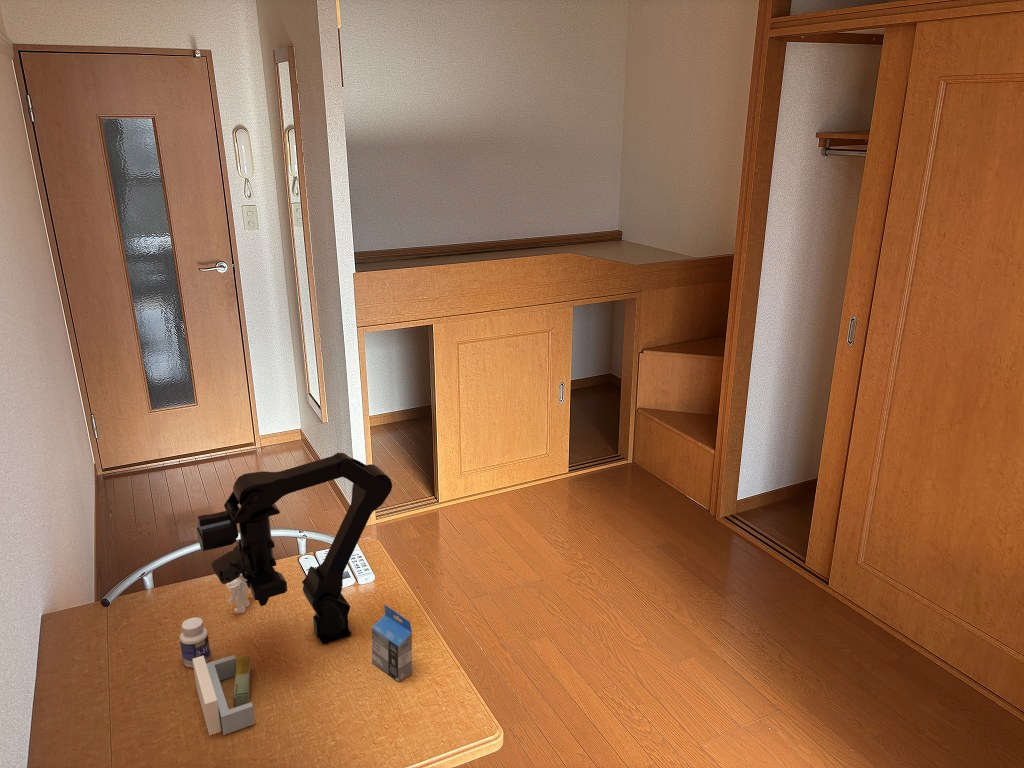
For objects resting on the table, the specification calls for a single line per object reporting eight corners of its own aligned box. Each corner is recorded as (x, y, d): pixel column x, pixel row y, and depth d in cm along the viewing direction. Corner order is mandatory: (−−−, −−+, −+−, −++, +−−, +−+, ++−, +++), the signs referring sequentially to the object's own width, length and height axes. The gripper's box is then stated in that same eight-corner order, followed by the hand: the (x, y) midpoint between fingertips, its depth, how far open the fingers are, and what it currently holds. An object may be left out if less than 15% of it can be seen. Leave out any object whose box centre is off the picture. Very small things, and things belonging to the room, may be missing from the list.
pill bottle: (201, 670, 151) (195, 633, 149) (177, 666, 152) (172, 629, 150) (216, 653, 156) (211, 617, 154) (193, 649, 157) (188, 613, 155)
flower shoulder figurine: (241, 620, 167) (236, 573, 163) (225, 618, 168) (219, 571, 164) (259, 597, 176) (254, 551, 172) (243, 595, 176) (238, 550, 172)
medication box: (249, 712, 141) (247, 694, 140) (233, 714, 140) (232, 696, 139) (252, 670, 152) (250, 653, 151) (237, 672, 151) (236, 655, 150)
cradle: (236, 671, 151) (234, 654, 150) (255, 723, 138) (253, 706, 136) (207, 680, 148) (205, 663, 147) (223, 735, 135) (221, 717, 134)
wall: (207, 685, 147) (203, 655, 145) (221, 731, 136) (217, 700, 134) (196, 688, 146) (192, 658, 144) (209, 735, 135) (205, 704, 133)
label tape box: (371, 662, 154) (368, 611, 151) (386, 653, 157) (384, 603, 153) (398, 683, 149) (396, 630, 145) (414, 673, 152) (412, 621, 148)
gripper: (203, 526, 151) (212, 593, 156) (223, 570, 136) (232, 642, 141) (259, 513, 157) (266, 578, 162) (284, 554, 142) (291, 624, 147)
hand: (262, 604), depth 153 cm, fingers closed
